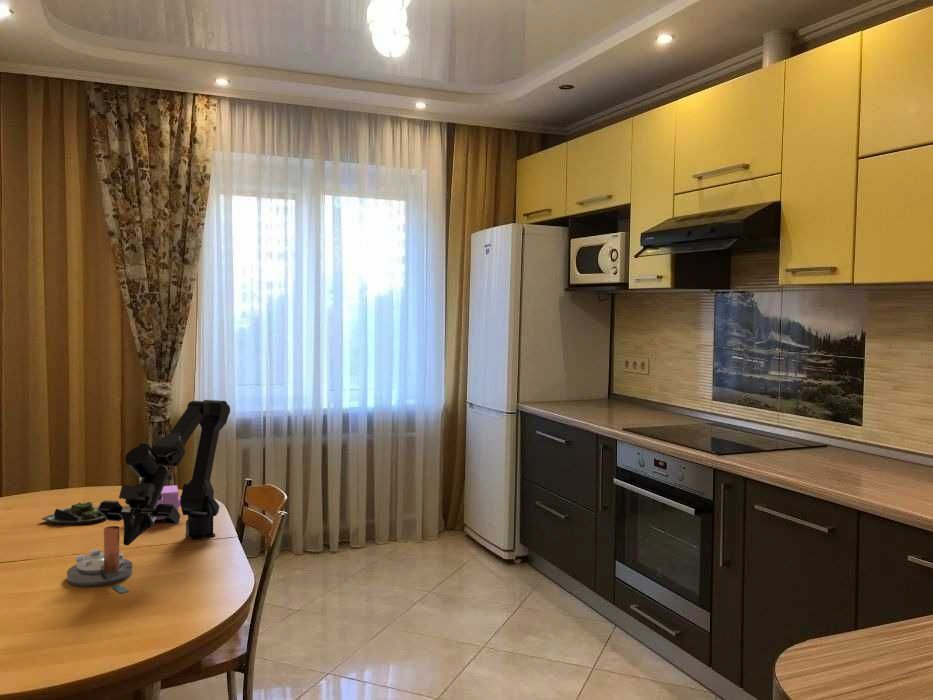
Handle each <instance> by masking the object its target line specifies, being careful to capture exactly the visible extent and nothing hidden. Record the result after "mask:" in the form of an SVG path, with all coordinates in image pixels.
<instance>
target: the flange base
mask: <svg viewBox="0 0 933 700" xmlns="http://www.w3.org/2000/svg"><path fill="white" fill-rule="evenodd" d="M132 574H133V563H132V561H131V560H129V559H126V558H123V566H122V567H121V568H119V576H117V577H112V578H106V577H105V576H104V575H103V574H82V573H79V572H78V571H77V563H76V564H75V565H72V566H71V567H69V568H68V569H67V571H66V583H67V584H69V585H71V586H73V587H79V588H98V587H105V586H110V585H113V586H111V588H112V589H113V590H115V591H116V592H118V593H120V594H124V593H129V592H130V590H129V589H128V588H125V587H124V586H123V585H121V584H118V585H114V584H117V583H120V582H122V581H125V580H126V579H128V578H130V577H131V575H132Z"/></svg>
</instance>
